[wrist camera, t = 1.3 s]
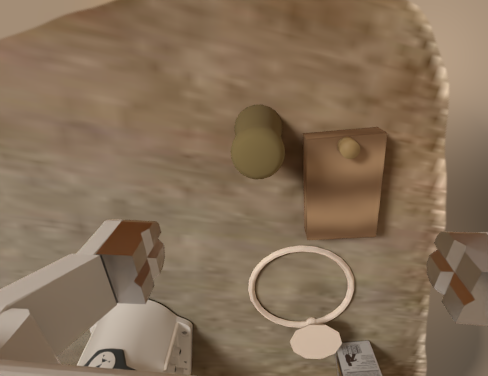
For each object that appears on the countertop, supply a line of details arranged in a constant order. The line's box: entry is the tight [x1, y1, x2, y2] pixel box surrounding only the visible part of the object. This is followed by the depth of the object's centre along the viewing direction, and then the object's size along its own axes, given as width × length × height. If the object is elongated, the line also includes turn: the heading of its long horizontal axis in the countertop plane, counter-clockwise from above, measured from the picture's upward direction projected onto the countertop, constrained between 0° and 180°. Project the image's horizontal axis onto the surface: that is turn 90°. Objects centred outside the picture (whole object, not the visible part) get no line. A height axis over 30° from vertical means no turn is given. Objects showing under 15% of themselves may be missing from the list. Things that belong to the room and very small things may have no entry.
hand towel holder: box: [248, 245, 354, 359], centre depth 46 cm, size 17×4×21 cm
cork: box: [231, 105, 285, 179], centre depth 31 cm, size 6×6×11 cm
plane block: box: [303, 127, 387, 240], centre depth 36 cm, size 14×9×5 cm, turn 6°
